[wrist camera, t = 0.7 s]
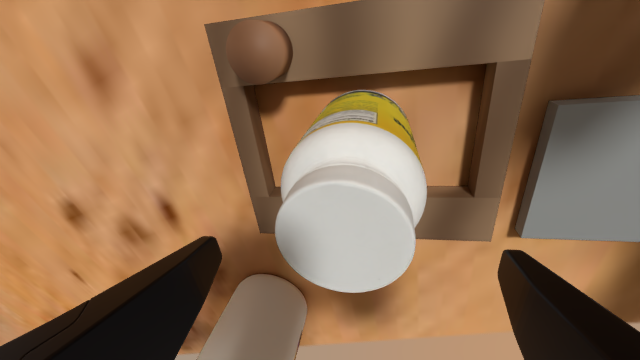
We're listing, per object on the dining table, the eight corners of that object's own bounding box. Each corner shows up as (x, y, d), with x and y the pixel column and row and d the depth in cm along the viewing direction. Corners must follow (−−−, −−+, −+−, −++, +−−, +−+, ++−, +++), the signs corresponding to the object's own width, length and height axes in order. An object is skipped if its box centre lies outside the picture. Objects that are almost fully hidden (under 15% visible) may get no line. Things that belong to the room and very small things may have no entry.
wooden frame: (534, -24, 13) (580, -39, 10) (483, 227, 20) (502, 263, 17) (217, 24, 17) (182, 23, 14) (266, 221, 24) (250, 249, 21)
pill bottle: (411, 171, 19) (442, 313, 10) (325, 178, 21) (278, 305, 11) (407, 78, 16) (444, 147, 7) (308, 95, 18) (227, 169, 8)
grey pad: (762, 87, 13) (788, 91, 13) (674, 233, 18) (689, 243, 17) (548, 100, 15) (558, 105, 15) (514, 228, 20) (521, 237, 19)
